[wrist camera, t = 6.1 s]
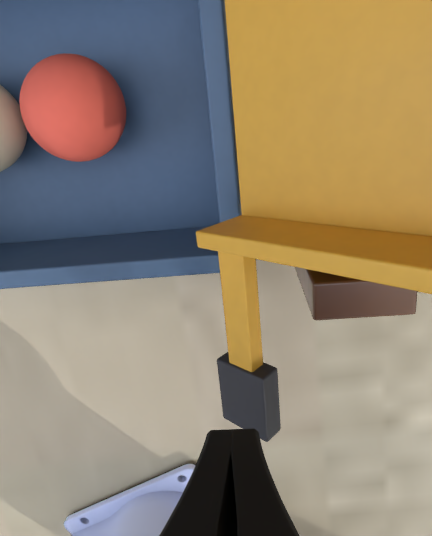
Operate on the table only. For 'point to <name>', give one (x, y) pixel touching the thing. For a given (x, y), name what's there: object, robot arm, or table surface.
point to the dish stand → (352, 297)
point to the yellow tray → (322, 164)
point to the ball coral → (72, 107)
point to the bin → (123, 144)
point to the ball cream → (10, 130)
